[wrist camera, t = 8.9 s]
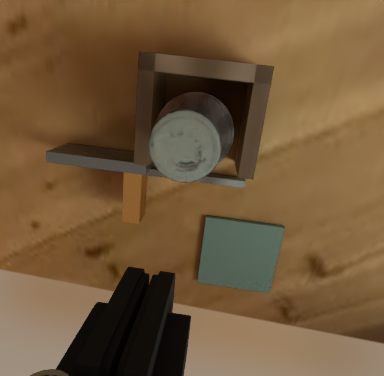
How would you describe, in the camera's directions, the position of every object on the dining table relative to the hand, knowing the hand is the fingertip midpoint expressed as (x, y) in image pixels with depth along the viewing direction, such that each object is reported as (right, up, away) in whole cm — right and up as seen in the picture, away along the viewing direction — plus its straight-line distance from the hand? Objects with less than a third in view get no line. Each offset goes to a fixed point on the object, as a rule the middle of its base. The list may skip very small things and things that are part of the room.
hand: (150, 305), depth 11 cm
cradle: (-1, +12, +25) cm, 28 cm away
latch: (-9, +6, +27) cm, 29 cm away
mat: (+8, -5, +30) cm, 31 cm away
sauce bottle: (+3, +12, +25) cm, 28 cm away
